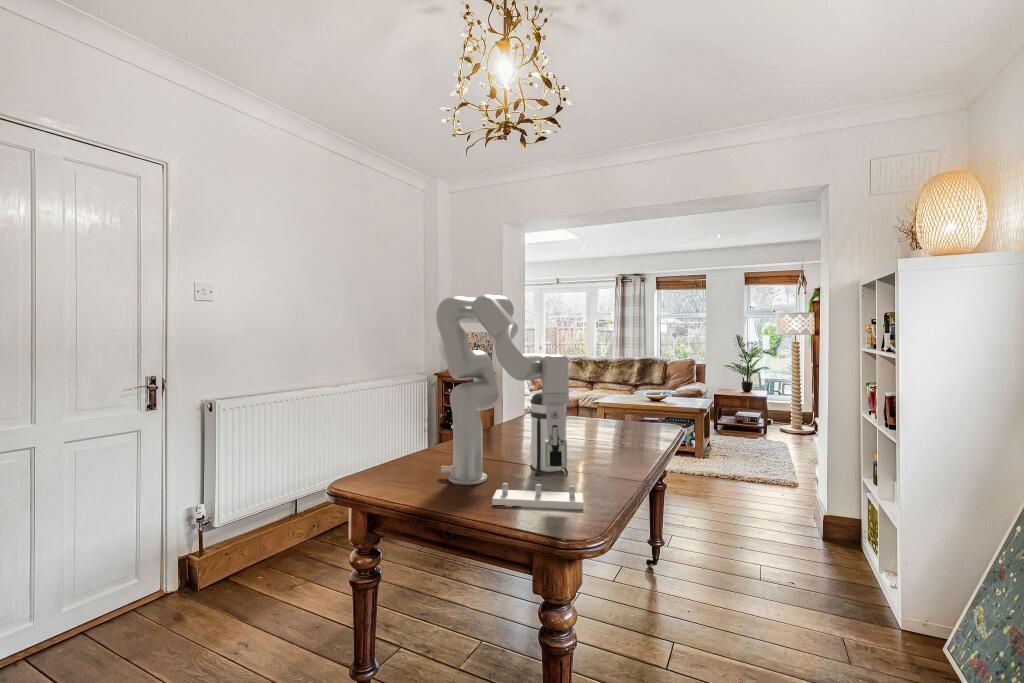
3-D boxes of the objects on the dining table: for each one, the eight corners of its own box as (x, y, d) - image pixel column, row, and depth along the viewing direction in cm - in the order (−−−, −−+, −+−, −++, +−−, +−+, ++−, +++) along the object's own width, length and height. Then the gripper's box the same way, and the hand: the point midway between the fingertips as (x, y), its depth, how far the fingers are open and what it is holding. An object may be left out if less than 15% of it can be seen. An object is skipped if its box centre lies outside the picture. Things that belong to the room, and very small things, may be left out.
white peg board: (492, 505, 139) (492, 487, 139) (496, 496, 147) (496, 479, 147) (583, 509, 136) (583, 491, 136) (582, 499, 144) (582, 482, 144)
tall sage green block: (545, 467, 139) (544, 442, 139) (546, 464, 142) (545, 439, 142) (566, 467, 138) (566, 442, 138) (567, 464, 142) (566, 439, 142)
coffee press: (580, 470, 174) (580, 384, 174) (552, 480, 162) (553, 388, 162) (541, 461, 186) (541, 381, 185) (513, 470, 174) (513, 384, 173)
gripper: (568, 402, 131) (569, 472, 132) (569, 395, 148) (569, 457, 148) (539, 402, 132) (540, 471, 133) (544, 395, 149) (544, 456, 149)
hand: (556, 463), depth 140 cm, fingers closed on tall sage green block, 3 cm apart
